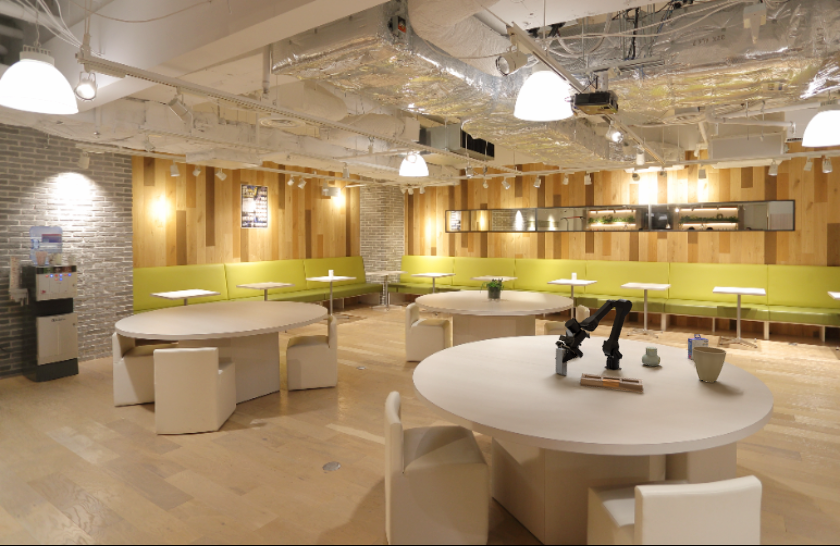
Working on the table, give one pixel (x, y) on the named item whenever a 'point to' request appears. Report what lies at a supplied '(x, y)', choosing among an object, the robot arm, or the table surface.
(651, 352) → the air freshener
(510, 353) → the table surface
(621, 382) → the slot rack
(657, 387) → the table surface
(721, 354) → the plant pot
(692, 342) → the ink cartridge box
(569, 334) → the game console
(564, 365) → the gray rectangular block
